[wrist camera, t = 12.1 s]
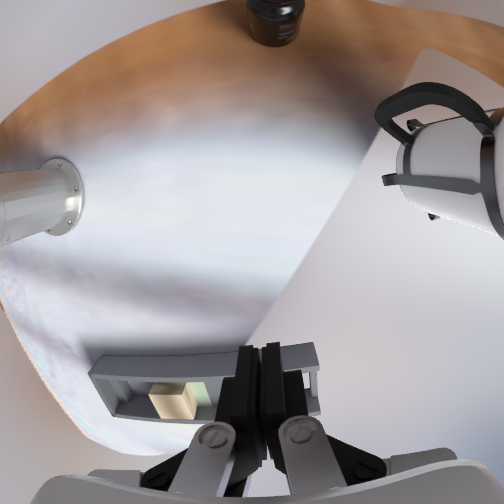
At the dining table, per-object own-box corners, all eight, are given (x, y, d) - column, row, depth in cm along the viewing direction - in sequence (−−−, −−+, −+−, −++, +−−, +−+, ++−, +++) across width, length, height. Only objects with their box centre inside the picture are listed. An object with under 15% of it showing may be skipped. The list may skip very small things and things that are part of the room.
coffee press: (446, 111, 31) (603, 84, 2) (463, 211, 35) (615, 267, 6) (349, 118, 32) (521, 25, 4) (373, 232, 36) (541, 349, 8)
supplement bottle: (238, 29, 30) (228, -18, 18) (273, 6, 28) (275, -43, 17) (273, 57, 31) (276, 13, 19) (308, 32, 29) (323, -14, 18)
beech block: (167, 403, 43) (161, 418, 40) (155, 379, 42) (148, 394, 38) (198, 403, 43) (193, 419, 39) (187, 378, 41) (181, 394, 38)
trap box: (123, 397, 47) (112, 416, 41) (102, 355, 44) (87, 373, 39) (315, 391, 44) (320, 414, 38) (313, 341, 41) (319, 365, 35)
